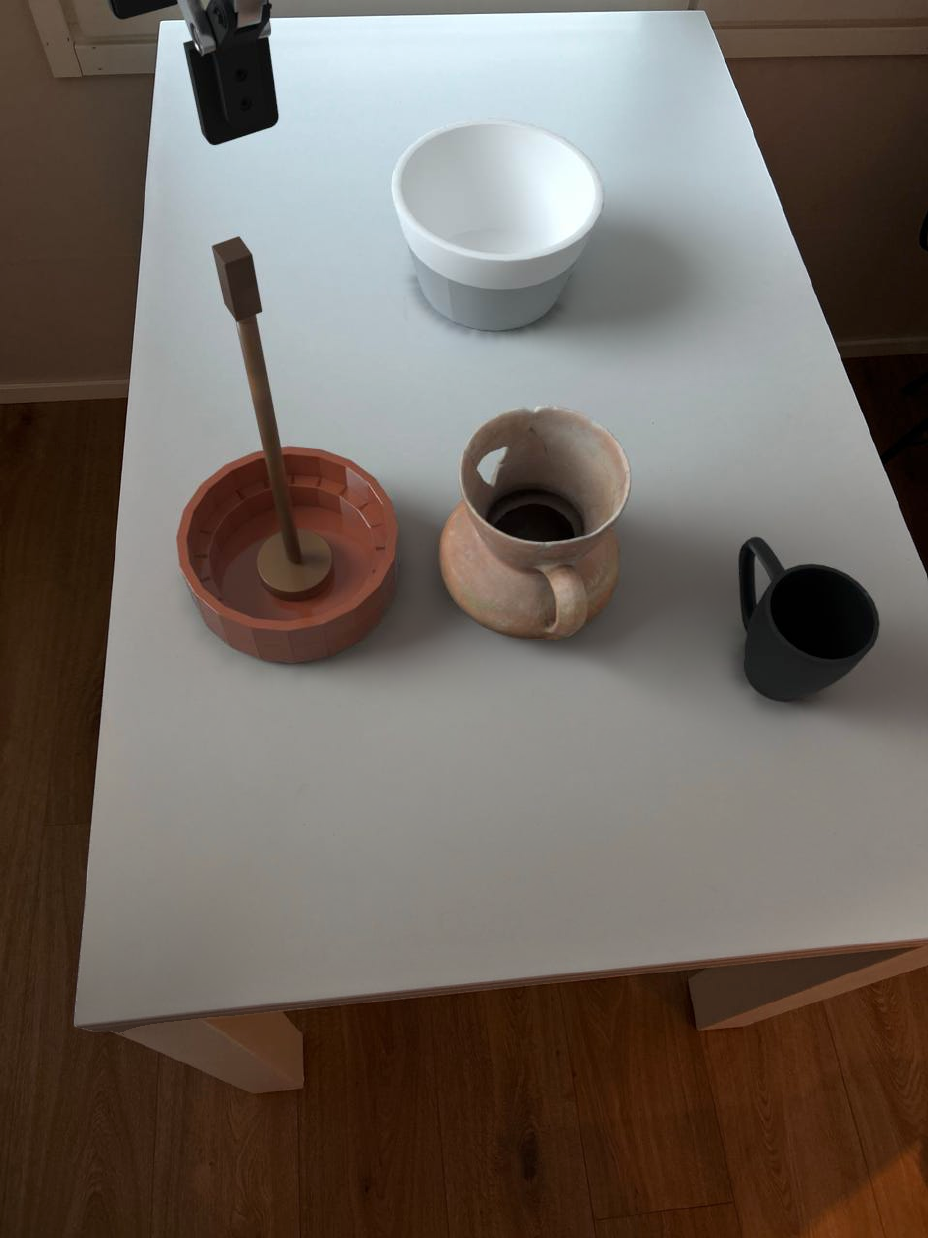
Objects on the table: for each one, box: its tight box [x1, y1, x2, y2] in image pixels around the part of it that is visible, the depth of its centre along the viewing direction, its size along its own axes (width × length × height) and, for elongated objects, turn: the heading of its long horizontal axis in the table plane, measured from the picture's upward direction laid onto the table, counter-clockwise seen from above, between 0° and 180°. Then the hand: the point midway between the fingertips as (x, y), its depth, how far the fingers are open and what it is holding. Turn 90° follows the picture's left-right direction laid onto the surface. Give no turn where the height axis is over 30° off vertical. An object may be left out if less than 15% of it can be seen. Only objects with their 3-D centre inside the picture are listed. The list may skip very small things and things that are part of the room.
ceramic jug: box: [438, 404, 632, 641], centre depth 73 cm, size 18×14×14 cm
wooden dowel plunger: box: [211, 235, 334, 601], centre depth 64 cm, size 6×6×32 cm
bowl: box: [390, 118, 605, 332], centre depth 91 cm, size 19×19×11 cm
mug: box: [738, 536, 880, 703], centre depth 73 cm, size 8×12×10 cm
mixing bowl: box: [175, 445, 400, 664], centre depth 76 cm, size 17×17×6 cm
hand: (192, 67), depth 42 cm, fingers open, 9 cm apart
